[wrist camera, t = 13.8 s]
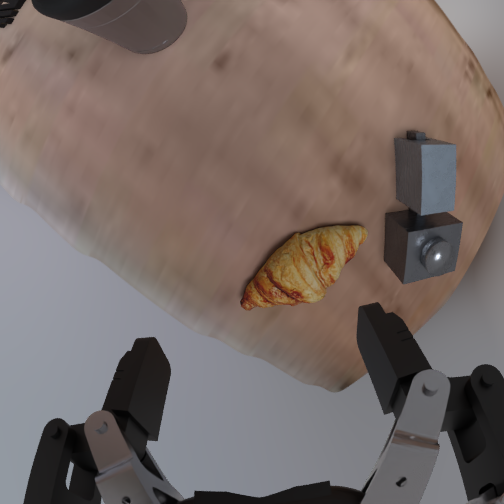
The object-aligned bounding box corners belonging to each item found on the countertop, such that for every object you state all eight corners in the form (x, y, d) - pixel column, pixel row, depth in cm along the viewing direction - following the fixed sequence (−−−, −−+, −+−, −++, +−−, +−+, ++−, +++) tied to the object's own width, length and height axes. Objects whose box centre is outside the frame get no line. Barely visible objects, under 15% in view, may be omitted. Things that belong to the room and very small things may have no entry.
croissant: (345, 201, 41) (350, 194, 33) (379, 257, 40) (392, 262, 32) (232, 276, 46) (215, 284, 38) (266, 328, 45) (255, 345, 37)
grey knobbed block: (381, 131, 33) (417, 139, 25) (436, 131, 32) (476, 140, 24) (383, 260, 42) (409, 292, 34) (432, 250, 41) (461, 277, 33)
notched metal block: (393, 138, 33) (421, 145, 27) (426, 137, 33) (455, 144, 26) (396, 198, 37) (420, 215, 31) (427, 194, 37) (453, 210, 30)
